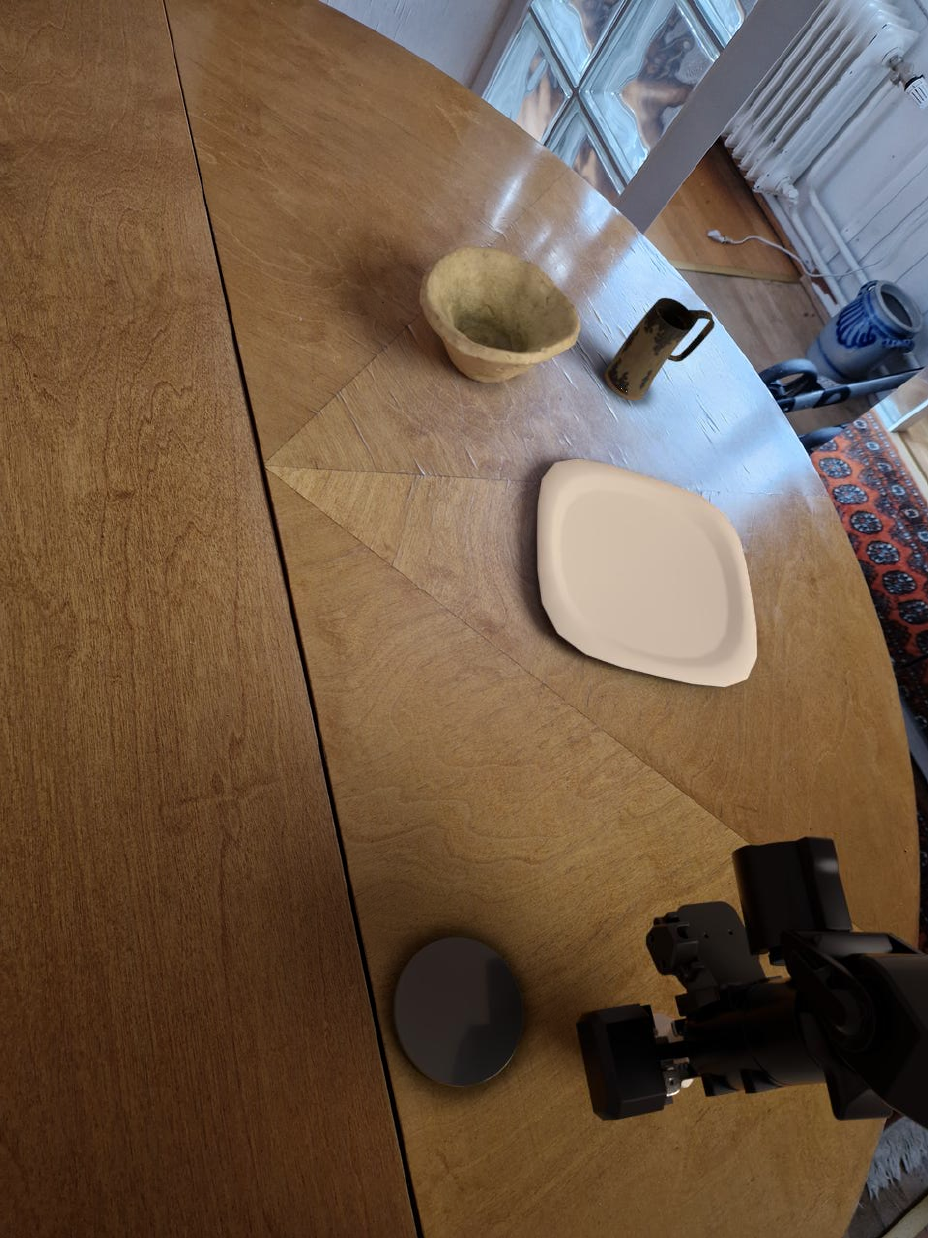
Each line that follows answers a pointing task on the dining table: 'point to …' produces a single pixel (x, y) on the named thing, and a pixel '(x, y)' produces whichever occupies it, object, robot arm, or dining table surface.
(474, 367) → the bowl
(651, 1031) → the robot arm
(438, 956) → the coaster
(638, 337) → the mug
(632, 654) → the plate
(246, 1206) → the dining table surface
